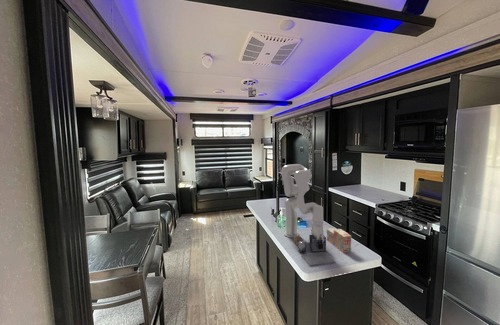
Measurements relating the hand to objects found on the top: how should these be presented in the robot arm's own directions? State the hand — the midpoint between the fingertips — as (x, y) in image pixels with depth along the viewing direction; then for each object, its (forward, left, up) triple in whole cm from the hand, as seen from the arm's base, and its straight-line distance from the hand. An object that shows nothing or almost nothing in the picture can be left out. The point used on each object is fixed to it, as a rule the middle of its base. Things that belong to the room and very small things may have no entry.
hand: (317, 245), depth 159 cm
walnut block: (-11, -10, -3) cm, 15 cm away
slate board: (+12, -6, -3) cm, 14 cm away
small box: (0, 0, -3) cm, 3 cm away
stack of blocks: (-3, +18, -3) cm, 19 cm away
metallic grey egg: (0, -12, -3) cm, 12 cm away
